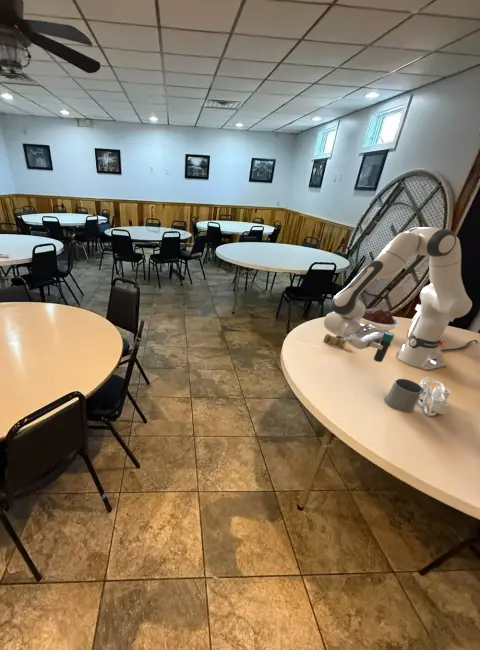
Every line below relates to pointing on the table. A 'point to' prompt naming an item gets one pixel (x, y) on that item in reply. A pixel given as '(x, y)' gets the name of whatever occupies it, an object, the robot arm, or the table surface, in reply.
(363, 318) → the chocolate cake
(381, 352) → the marker pen
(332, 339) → the gavel
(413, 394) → the pen pot
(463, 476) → the table surface
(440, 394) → the white cage
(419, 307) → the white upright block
